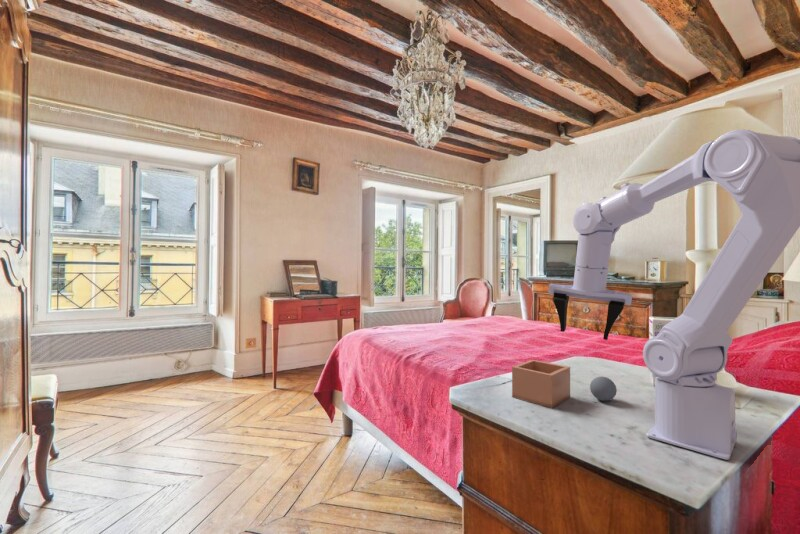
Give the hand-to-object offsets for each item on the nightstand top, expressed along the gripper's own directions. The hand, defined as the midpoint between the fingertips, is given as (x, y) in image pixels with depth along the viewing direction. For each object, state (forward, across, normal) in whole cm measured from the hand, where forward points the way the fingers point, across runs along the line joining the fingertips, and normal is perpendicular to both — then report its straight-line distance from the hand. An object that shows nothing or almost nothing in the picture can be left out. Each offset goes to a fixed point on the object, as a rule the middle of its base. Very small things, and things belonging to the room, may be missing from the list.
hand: (583, 334), depth 74 cm
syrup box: (+12, -16, -16) cm, 25 cm away
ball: (+12, -5, +2) cm, 13 cm away
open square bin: (+12, +6, +6) cm, 15 cm away
